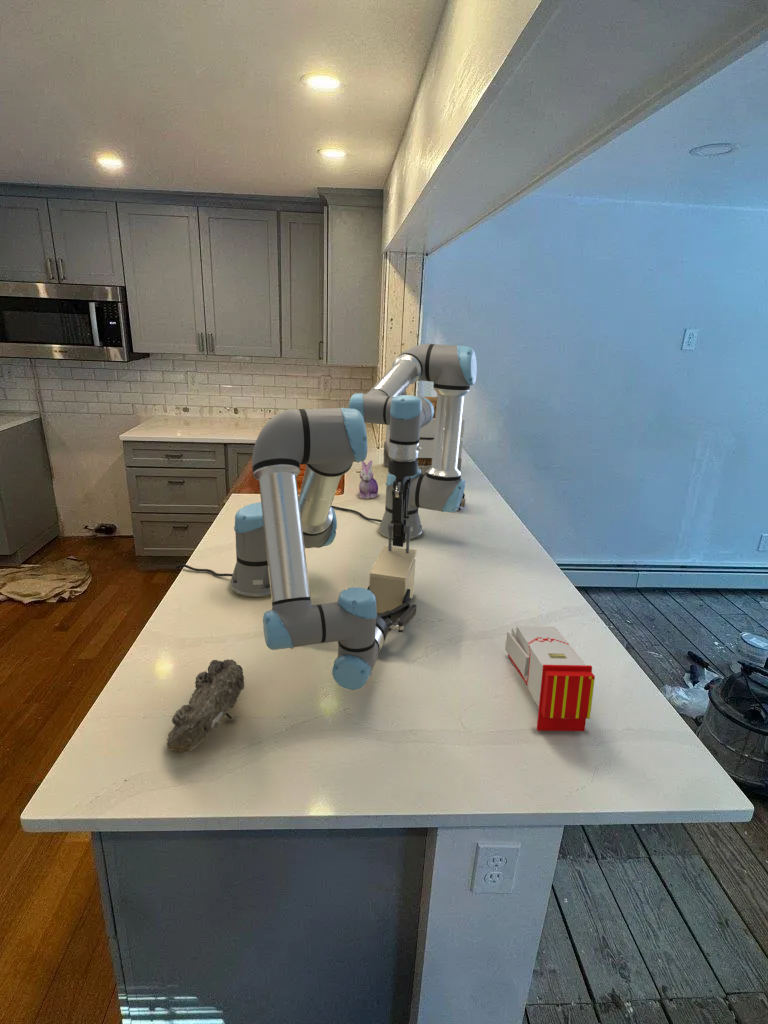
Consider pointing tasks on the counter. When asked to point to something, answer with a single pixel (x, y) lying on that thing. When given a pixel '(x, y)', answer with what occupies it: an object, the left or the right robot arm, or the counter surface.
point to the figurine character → (462, 502)
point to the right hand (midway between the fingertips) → (398, 543)
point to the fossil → (206, 705)
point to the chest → (391, 591)
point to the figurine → (367, 482)
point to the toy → (552, 677)
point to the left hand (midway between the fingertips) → (389, 591)
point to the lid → (394, 560)
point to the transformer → (424, 440)
